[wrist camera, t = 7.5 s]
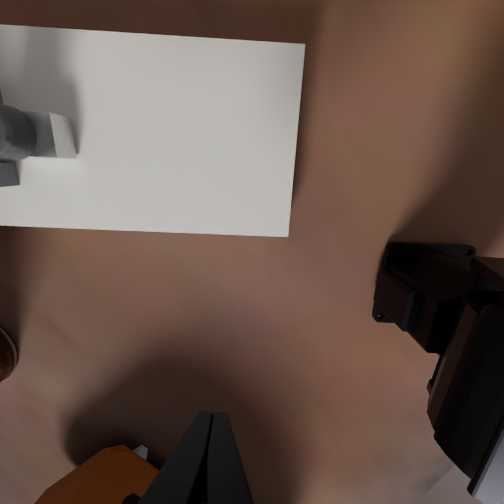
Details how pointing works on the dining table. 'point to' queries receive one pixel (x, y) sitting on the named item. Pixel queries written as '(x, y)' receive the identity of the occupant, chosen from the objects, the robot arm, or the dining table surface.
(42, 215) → the door lock board
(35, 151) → the bolt
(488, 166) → the dining table surface
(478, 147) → the dining table surface
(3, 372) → the coffee cup
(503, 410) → the robot arm
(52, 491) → the orange tape measure
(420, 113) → the dining table surface
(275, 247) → the dining table surface
